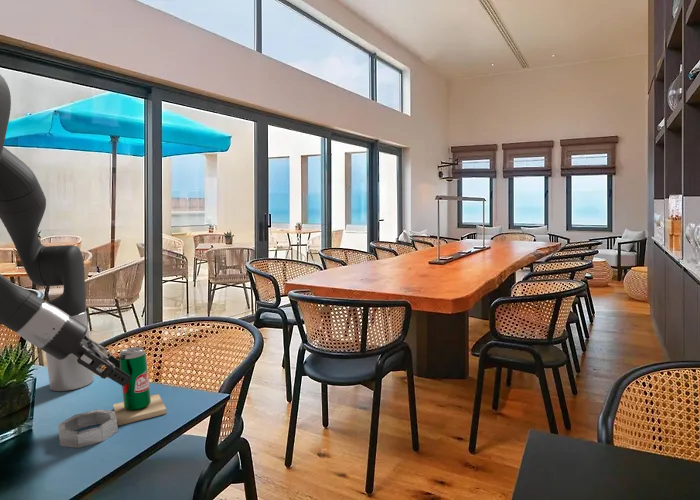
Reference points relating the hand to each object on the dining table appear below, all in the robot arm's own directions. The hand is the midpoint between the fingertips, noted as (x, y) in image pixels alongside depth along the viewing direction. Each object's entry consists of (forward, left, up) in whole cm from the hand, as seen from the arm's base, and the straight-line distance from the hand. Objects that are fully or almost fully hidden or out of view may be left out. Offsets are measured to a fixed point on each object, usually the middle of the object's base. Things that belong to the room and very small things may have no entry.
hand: (125, 375), depth 100 cm
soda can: (0, +2, -7) cm, 7 cm away
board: (0, +2, -8) cm, 8 cm away
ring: (+5, -8, -8) cm, 12 cm away
